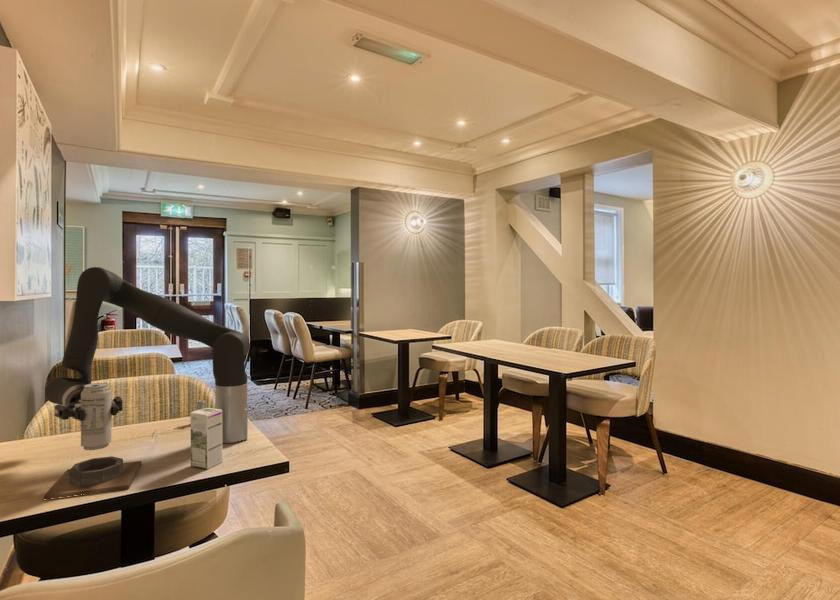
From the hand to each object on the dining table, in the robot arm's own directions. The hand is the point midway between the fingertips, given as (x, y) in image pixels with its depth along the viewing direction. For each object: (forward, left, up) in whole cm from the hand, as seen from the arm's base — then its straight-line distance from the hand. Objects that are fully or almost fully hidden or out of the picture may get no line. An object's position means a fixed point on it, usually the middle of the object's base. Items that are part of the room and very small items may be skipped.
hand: (98, 413), depth 109 cm
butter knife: (-7, -29, -17) cm, 35 cm away
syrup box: (-23, -4, -17) cm, 29 cm away
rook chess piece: (-19, -46, -17) cm, 53 cm away
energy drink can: (+1, -2, -9) cm, 9 cm away
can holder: (+1, -2, -17) cm, 17 cm away
